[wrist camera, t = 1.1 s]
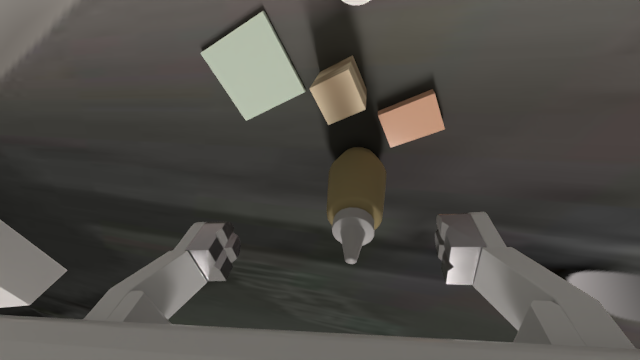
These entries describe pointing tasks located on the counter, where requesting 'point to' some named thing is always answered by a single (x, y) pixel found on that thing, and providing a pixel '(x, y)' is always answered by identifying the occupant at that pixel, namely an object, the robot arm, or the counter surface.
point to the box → (23, 269)
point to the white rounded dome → (356, 2)
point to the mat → (254, 67)
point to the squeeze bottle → (355, 199)
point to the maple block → (340, 91)
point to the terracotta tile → (411, 118)
